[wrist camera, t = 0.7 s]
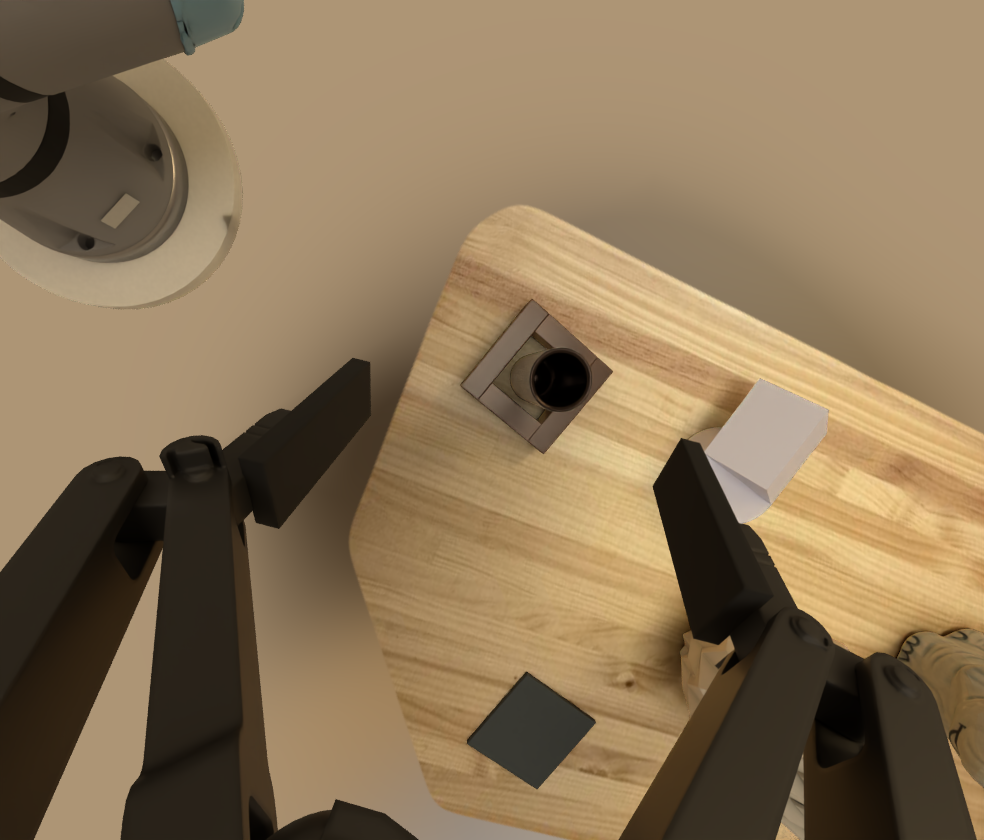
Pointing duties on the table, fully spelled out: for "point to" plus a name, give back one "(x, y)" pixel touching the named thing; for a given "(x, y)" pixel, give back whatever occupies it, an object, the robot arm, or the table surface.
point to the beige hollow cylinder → (552, 379)
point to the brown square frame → (504, 349)
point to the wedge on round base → (762, 446)
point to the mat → (531, 731)
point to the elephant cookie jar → (954, 688)
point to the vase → (695, 682)
